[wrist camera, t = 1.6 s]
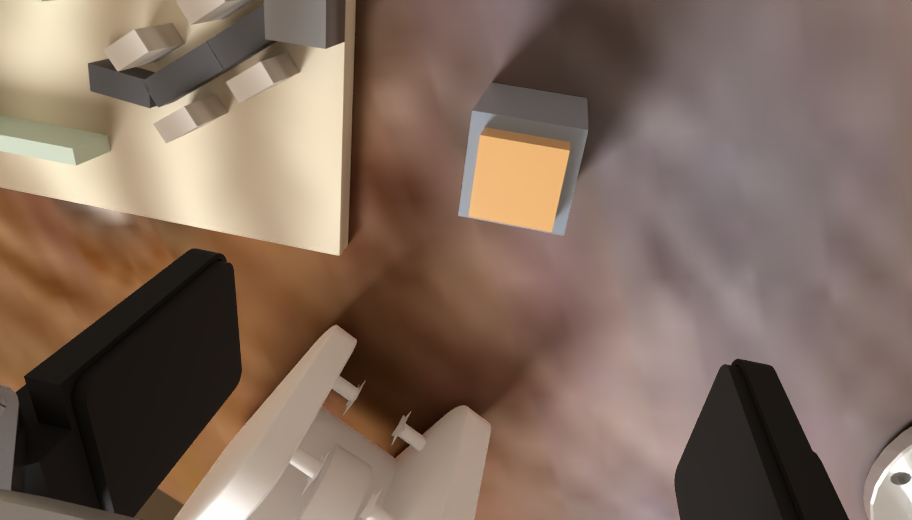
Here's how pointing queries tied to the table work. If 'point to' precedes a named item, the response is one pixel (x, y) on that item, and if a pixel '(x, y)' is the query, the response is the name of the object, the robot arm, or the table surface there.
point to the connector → (523, 157)
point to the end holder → (50, 140)
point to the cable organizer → (339, 457)
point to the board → (200, 167)
